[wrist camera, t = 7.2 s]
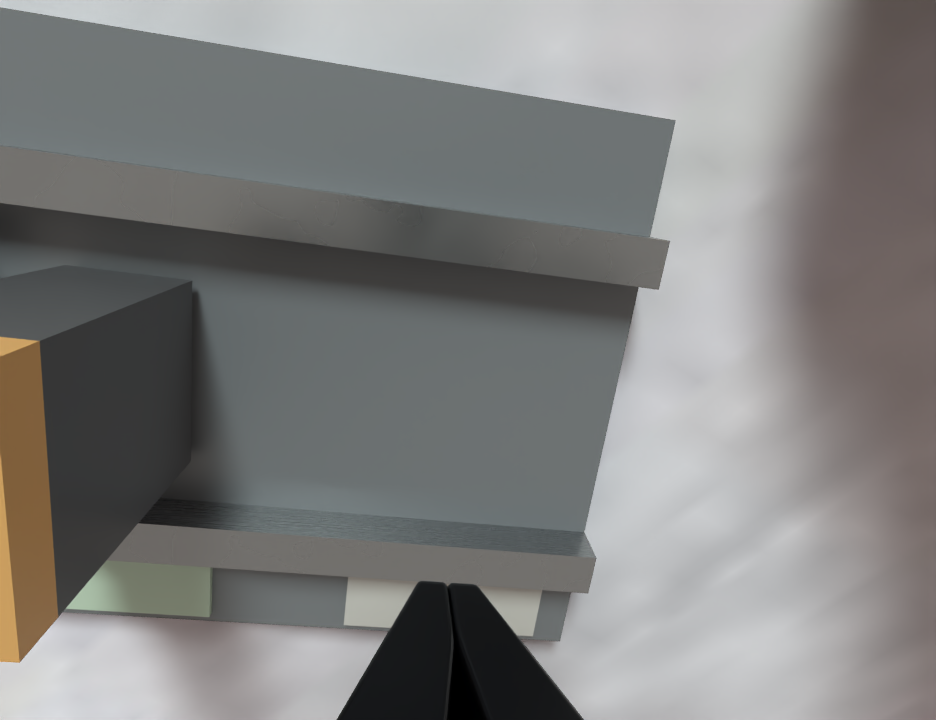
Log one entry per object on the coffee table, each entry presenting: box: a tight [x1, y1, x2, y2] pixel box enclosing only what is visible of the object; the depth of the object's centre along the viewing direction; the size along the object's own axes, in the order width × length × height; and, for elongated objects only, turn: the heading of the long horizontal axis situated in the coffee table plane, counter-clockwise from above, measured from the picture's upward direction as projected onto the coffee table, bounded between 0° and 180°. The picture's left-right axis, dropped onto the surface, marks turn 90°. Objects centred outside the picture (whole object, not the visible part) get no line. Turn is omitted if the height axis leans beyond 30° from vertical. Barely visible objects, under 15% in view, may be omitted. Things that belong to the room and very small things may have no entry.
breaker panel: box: [0, 8, 676, 641], centre depth 15 cm, size 18×16×3 cm
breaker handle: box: [0, 265, 192, 663], centre depth 12 cm, size 3×5×7 cm, turn 172°
